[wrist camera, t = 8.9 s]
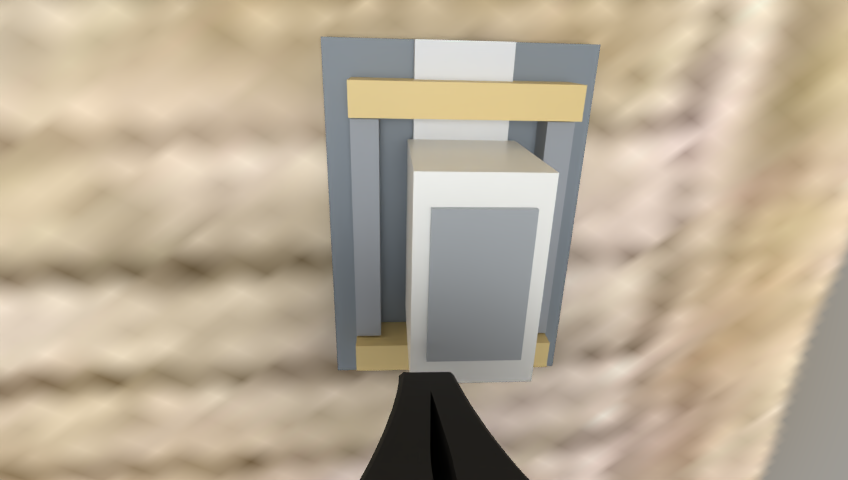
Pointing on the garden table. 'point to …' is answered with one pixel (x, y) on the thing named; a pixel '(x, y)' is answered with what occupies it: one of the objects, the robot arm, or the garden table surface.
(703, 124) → the garden table surface
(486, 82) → the rail base
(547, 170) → the block
